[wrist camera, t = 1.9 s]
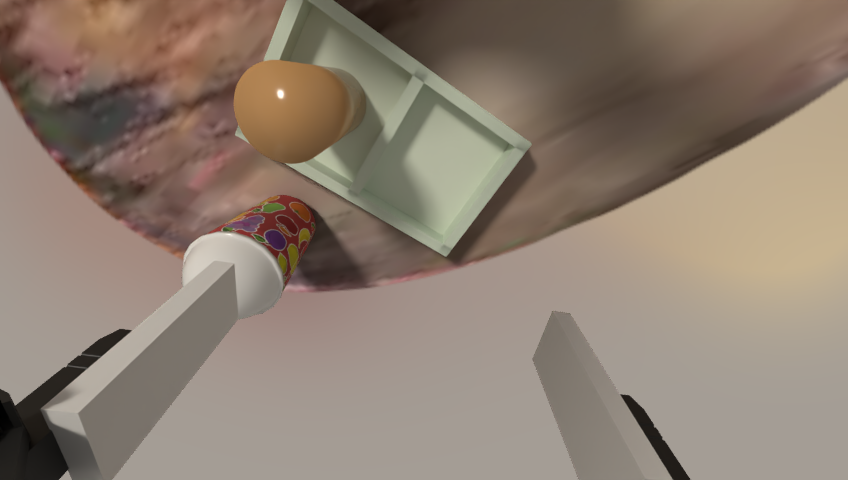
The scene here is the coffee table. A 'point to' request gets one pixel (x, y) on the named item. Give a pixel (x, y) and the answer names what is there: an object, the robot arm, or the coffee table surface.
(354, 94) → the tan rounded capsule
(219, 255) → the smoothie
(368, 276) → the coffee table surface
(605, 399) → the robot arm
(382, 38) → the green divided tray
